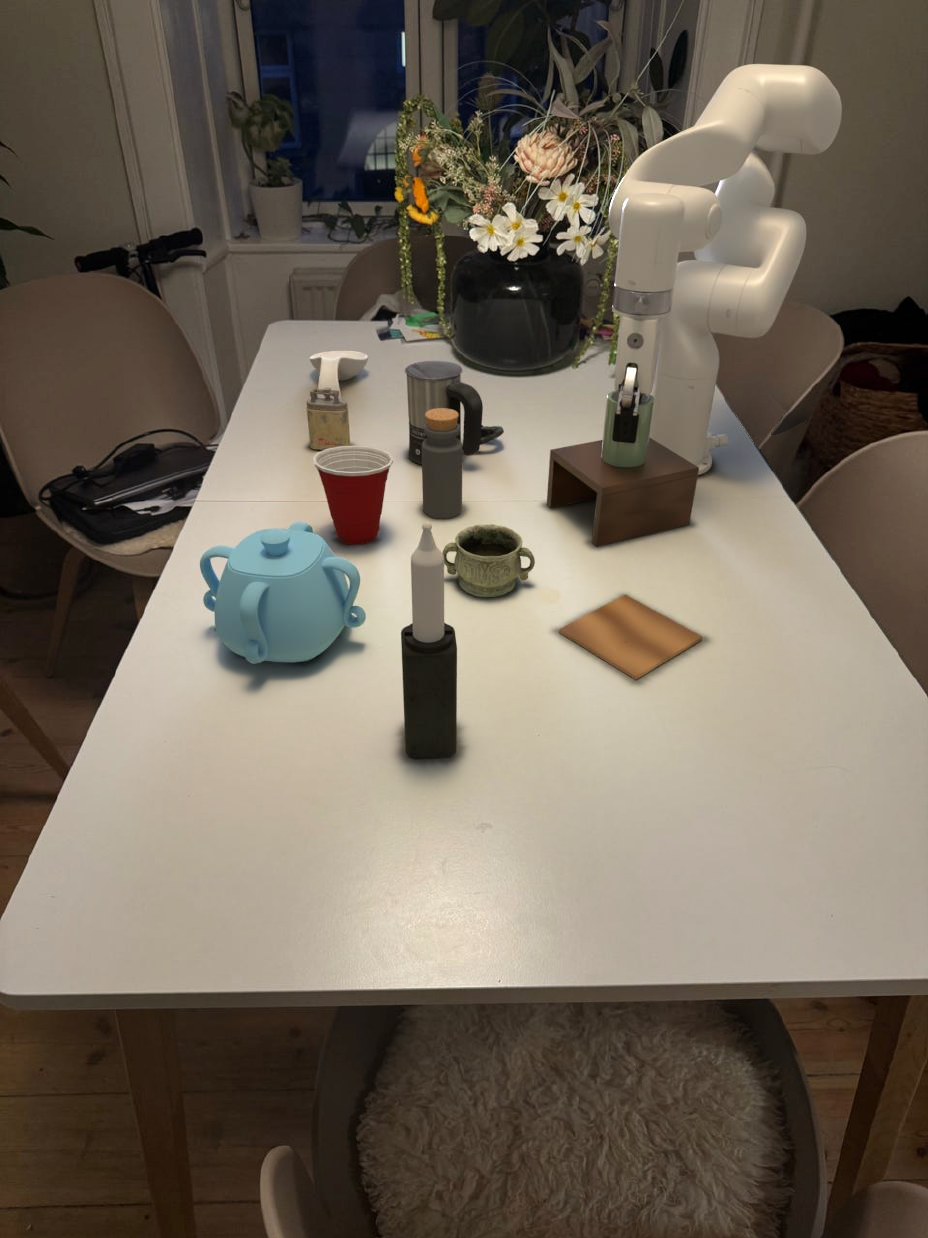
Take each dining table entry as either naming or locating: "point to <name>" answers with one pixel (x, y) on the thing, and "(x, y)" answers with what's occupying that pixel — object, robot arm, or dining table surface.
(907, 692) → the dining table surface
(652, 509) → the shelf
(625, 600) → the coaster
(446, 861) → the dining table surface
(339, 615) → the decorative pot
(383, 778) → the dining table surface
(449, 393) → the milk frother
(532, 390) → the dining table surface
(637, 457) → the tumbler
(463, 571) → the vessel
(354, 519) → the plastic cup
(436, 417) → the bottle
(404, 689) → the candle
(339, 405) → the lighter
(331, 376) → the spoon rest
